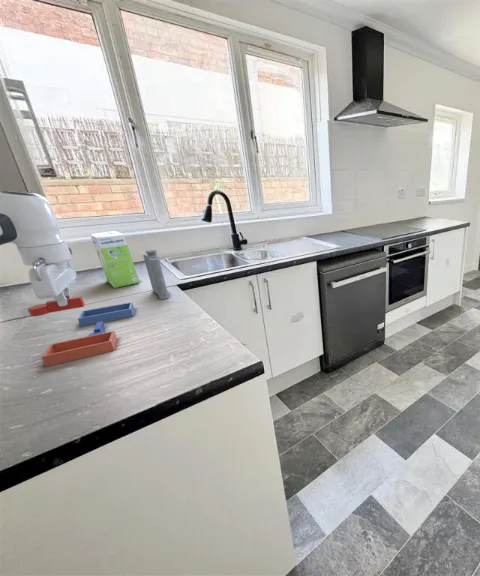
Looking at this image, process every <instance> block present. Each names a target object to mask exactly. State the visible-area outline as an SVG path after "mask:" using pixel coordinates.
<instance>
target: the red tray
mask: <svg viewBox="0 0 480 576" xmlns="http://www.w3.org/2000/svg"><path fill="white" fill-rule="evenodd" d="M117 337H118V336H117V334H116V332H115V330H111V331H105V333H101V334H96V335H92V336H88V335H87V336H82V337H78V338H73V339H69V340H68V339H67V340H64V341H60V342H55V343H50V344H49V346H48V347H47V349H46V350H45V352H44V353H43V354H42V356H41V358H42V361H43V363H44V366H45V367H50V366H54V365H55V366H56V365H59V364H63V363H66V362H70V361H71V362H72V361H75V360H80V359H83V358H87V357H91V356H96V355H100V354H105V353H109V352H113V351H115V349H116V344H117V341H118V338H117Z"/></svg>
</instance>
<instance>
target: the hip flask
mask: <svg viewBox="0 0 480 576" xmlns="http://www.w3.org/2000/svg"><path fill="white" fill-rule="evenodd" d="M142 257H143V260H144V264H145V267H146V271H147V274H148V277H149V280H150V285H151V288H152V292H153V293H155V294H156V295H158V297H159V300H167V299H170V296H169V291H168V287H167V284H166V281H165V277H164V273H163V270H162V269H163V268H162V265H161V262H160V258H159V256H158V254H157V249H148V250H145V253H143V254H142Z"/></svg>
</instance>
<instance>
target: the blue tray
mask: <svg viewBox="0 0 480 576" xmlns="http://www.w3.org/2000/svg"><path fill="white" fill-rule="evenodd" d="M134 314H135V306H134V303H133V301H131V302H126V303H120V304H119V303H118V304H114V305H109V306H103V307H102V306H101V307H97V308H92V309H86V310H82V311H81V313H80V314H79V316H78V318H77V320H78V323H79V325H80V327H81V328H82V327H88V326H93V325H96V324H97V322H101V321H103V323H107V322H112V321H116V320H122V319H128V318H132V317H134Z"/></svg>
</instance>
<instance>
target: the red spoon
mask: <svg viewBox="0 0 480 576" xmlns="http://www.w3.org/2000/svg"><path fill="white" fill-rule="evenodd" d="M67 299H68V302H69V303H68V304H67V305H66V306H59V305H58V303H57V301H56V300H55V299H54V300H48V301H46V302H45V303H40V304H36V305H32V306H30V307H28V308H27V311H28V313H29V315H30V317H39V316H44V315H47V314H50V313H55V312H61V311H67V310H74V309H79V308H84V307H85V306H86V304H85V302H84V299H83V297H82V296H74V297H71V298H67Z"/></svg>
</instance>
